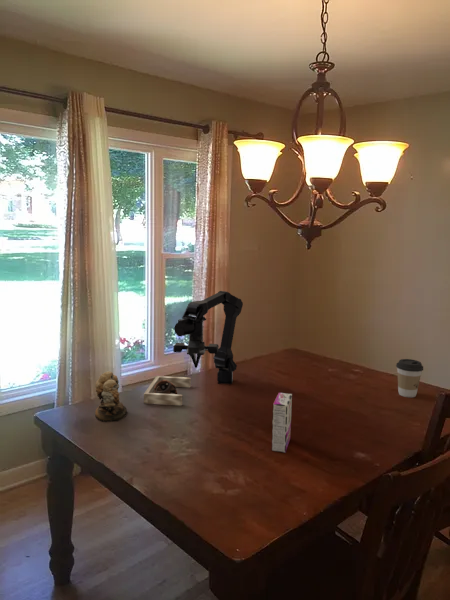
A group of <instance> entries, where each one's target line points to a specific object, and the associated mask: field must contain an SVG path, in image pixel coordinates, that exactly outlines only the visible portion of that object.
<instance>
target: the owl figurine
mask: <svg viewBox="0 0 450 600" xmlns="http://www.w3.org/2000/svg"><path fill="white" fill-rule="evenodd" d="M119 388H120V384H119V379H118V376H117V375H115V374H114V373H113V372H112V371H105V372H103V373H102V374H100V375H99V377H98V379H97V380H96V381H95V392H96V396H97V398H98V400H100V404H99V405H98V406H97V407H96V409H95V412H94V414H95V418H96V419H97V420H98V421H100V422H105V423H109V422H118V421H122V420H123V419H124V418H125V417H126V416H127V414H128V409H127V407H126V406H125V405H124V404H123V402H121V401H120V393H119Z"/></svg>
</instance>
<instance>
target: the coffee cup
mask: <svg viewBox="0 0 450 600" xmlns="http://www.w3.org/2000/svg"><path fill="white" fill-rule="evenodd" d="M395 367H396V370H397V390H398V395H399V396H401V397H404V398H415V397H416V396H417V393H418V389H419V386H420V381H421V376H422V373H423V371H424V366H423V364H422V362H421V361H419V360H416V359H413V358H411V359H410V358H401V359H399V360H398V361H397V363H396V365H395Z"/></svg>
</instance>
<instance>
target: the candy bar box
mask: <svg viewBox="0 0 450 600" xmlns="http://www.w3.org/2000/svg"><path fill="white" fill-rule="evenodd" d="M277 393H278V394H277V395H276V398H275V400H274V401H273V404H272V426H271V427H272V431H271V434H272V436H271V451H273V452H278V453H285V454H286V453H287V450H288V446H289V443H290V440H291V435H292V434H291V433H292V432H291V431H292V430H291V429H292V408H293V407H292V403H293V401H292V400H293V393H287V392H277Z"/></svg>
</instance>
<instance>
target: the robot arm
mask: <svg viewBox="0 0 450 600" xmlns="http://www.w3.org/2000/svg"><path fill="white" fill-rule="evenodd" d="M220 304H222V305H223V312H224V314H225V315H224V316H225V319H224V323H223V330H222V333H221V334H222V335H221V339H220V340H221V341H220V346H219V344H218V343H209V344H208V345H206V344H205V341H204V322H205V321H207V318H206V317H205V316H206V315H207V314H208V312H209V311H210V310H211V309H212V308H215V307H216V306H218V305H220ZM243 304H244V302H243V301H242V299H241V298H238V297H237V296H235V295H234V294H231V293H230V292H228V291H226V290H220V291H218V292H217V293H215V294H212V295H211V296H208V297H206V298H204V299H202V300H194V301H190V302H188V304H187V306H186V308H185V310H184V313H183V314H182V317H181V319H177V322H176V324H175V325H174V328H173V331H174V333H175V335H176V336H178V337H183V336H184V337H185V336H189V338H188V339H189V340H188V343H187V345H186V344H185V342H175V344H174V345H173V348H172V352H173V353H182V351H185V350H186V354H187V355H189V357H190V358H191V360H192V363H193V366H194V368H195V369H196V368H198V366H199V363H200V360H201V357H202V356H204V355H205V353H206V351H207V353H209V354H211V355H213V354H214V356H213V363H214V366H215V369H218V370H217V373H216V375H217V376H216V377H217V378H216V380H217V384H221V385H224V384H225V385H232V384H233V383H234V382H233V381H234V379H233V377H234V376H233V375H234V373H233V372H235V371H236V370H237V367H238V365H237V363H235V361H234V354H233V350H232V347H233V346H232V345H233V338H234V333H235V328H236V322H237V318H238V317H239V315H240V314H241V312H242V309H243V306H244V305H243Z"/></svg>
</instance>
